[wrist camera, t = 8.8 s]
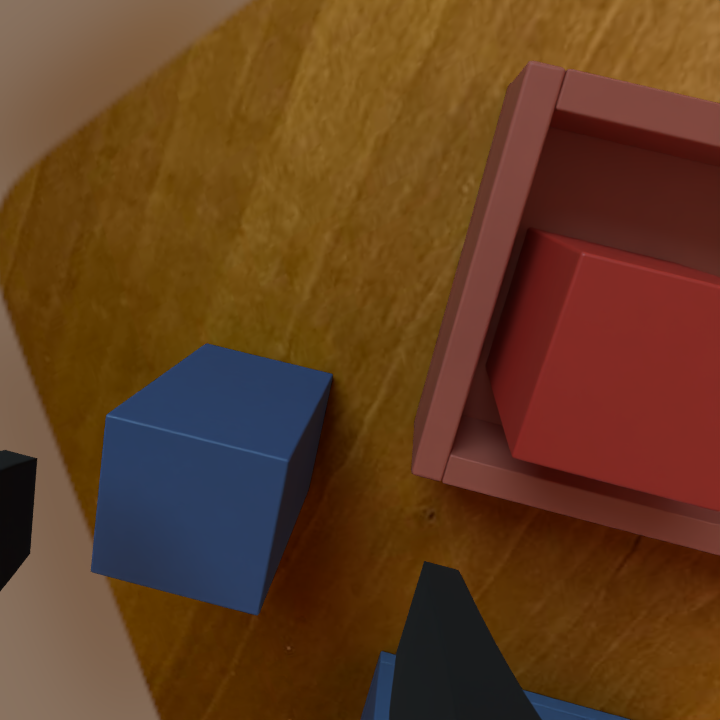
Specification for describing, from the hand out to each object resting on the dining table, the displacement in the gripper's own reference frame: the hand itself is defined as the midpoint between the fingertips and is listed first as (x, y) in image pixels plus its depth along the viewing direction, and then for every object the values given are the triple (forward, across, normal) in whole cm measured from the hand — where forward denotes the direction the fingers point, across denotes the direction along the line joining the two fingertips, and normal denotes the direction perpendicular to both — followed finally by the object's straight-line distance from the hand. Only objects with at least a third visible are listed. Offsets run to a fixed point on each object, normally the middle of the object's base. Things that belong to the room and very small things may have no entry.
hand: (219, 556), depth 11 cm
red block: (+8, -7, -4) cm, 11 cm away
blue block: (+8, +1, +1) cm, 8 cm away
